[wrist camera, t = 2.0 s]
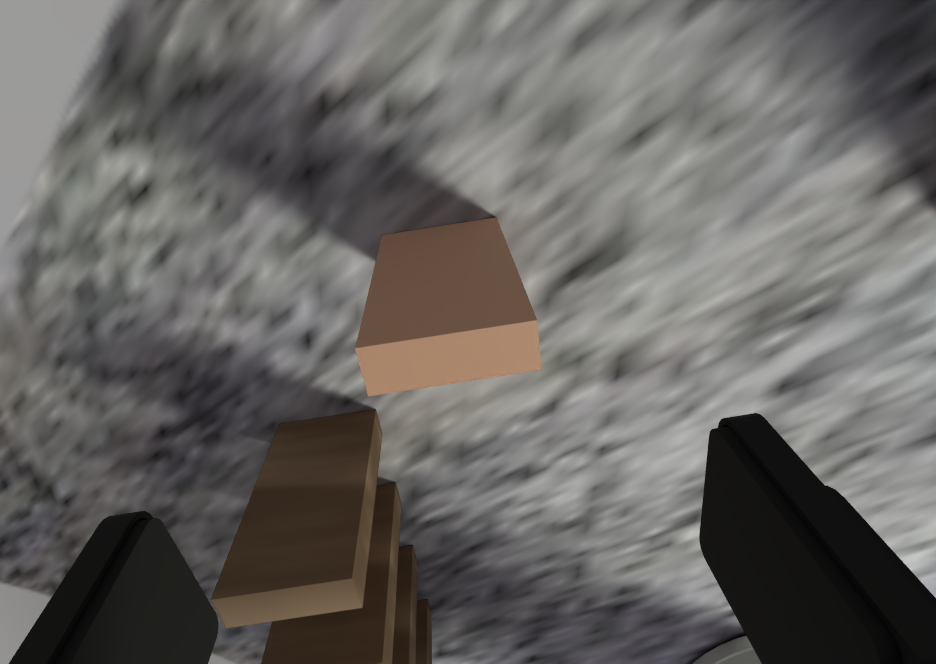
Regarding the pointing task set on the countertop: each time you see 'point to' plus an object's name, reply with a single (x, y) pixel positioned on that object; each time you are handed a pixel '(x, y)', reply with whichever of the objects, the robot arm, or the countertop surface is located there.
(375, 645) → the walnut domino
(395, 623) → the walnut domino
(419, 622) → the walnut domino
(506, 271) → the terracotta domino
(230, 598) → the walnut domino
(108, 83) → the countertop surface
